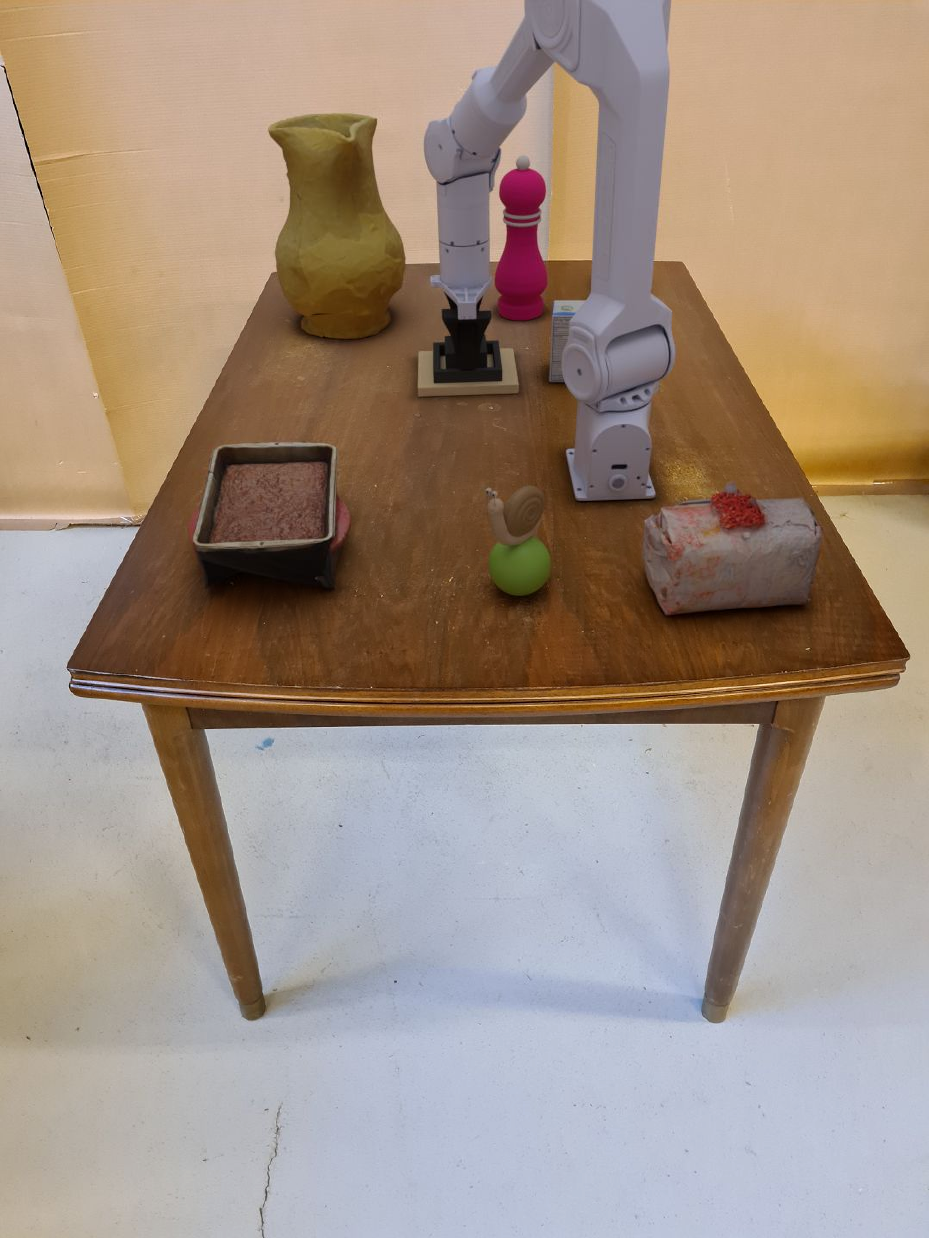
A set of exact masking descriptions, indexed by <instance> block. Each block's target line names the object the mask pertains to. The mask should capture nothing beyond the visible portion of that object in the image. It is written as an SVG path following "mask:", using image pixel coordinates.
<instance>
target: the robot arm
mask: <svg viewBox="0 0 929 1238" xmlns="http://www.w3.org/2000/svg"><path fill="white" fill-rule="evenodd" d="M523 7H524V9H523V11H524V16H523V18H522V20H521V21H520V23H519V25H518V27H517V29H516V31H515V32H514V35H513V36H512V38H511V40H510V41H509V43H508V45H507V47H506V49H505V51H504V53H503V54H502V56H501V58H500V60H499V62H498V64H497V65H491V66H490V65H489V66H486V67H483V68H476V69H475V70H474V72H473V74H472V76H471V80H472V81H471V82H470V84H469V86H468V87H467V88H466V90H465V91H464V93H463V95H462V96H461V97H460V100H459V101H457V102H456V104H455V105H454V107H453V110H452V111H451V113H450V115H449V116H448V117H444V118H443V119H441V118H438V119H433V120H430V121H429V122H428V125H427V128H426V130H425V133H424V135H423V136H424V137H423V154H424V159H425V163H426V167H427V170H428V171H429V174H430V175H431V177H432V178H433V179H434V180H435V185H436V187H435V189H436V209H437V210H436V211H437V232H438V233H437V236H438V255H439V256H438V257H439V258H438V259H439V274H435V275H430V277H429V284H430V287H431V288H439V289H441V291H443V293H444V295H445V298H446V300H447V302H448V305H449V308H442V309H441V319H442V323H443V325H444V326H445V328H446V329H447V331H448V333H449V336H451V338H452V342H453V346H454V350H455V355H456V360H457V364H458V367H459V369H475V368H476V367H477V364H478V360H479V355H480V349H481V343H482V339H483V336H484V335H485V333H486V331H487V329H488V327H489V325H490V323H491V321H492V317H493V314H492V313H493V312H492V310H491V309H490V310H480V308H481V305H482V301H483V298H484V296H485V294H486V292H487V291H488V290H489V289H490V288H491V287H492V283H493V279H492V274H491V256H490V255H491V253H490V252H491V249H490V248H491V241H490V240H491V237H490V235H491V233H490V232H491V226H490V223H491V221H490V218H491V217H490V211H491V210H490V194H491V193H492V192H493V191H494V188H495V178H496V177H495V176H496V172H497V170H498V169H499V166H500V163H501V159H502V148H501V146H502V145H503V143H504V142H505V141H506V139H508V137H509V136H510V134H511V133H512V132H513V131H514V129H515V128H516V127H517V126H518V124H519V123H520V122H521V121H522V119H523V118H524V116H525V114H526V111H527V107H528V99H527V94H528V92H529V91H530V90H531V89H532V88H533V87H534V86H535V85H536V83H538V81H539V80H540V79H541V78H542V77H543V76H544V75H545V73H547V72H548V70H549V69H550V68H551V67H552V66H553V65H554V64H557V65H558V66H559V67H560V68H561V69H562V70H564V71H565V72H566V73H567V74H568V75H569V76H570V77H572V78H573V80H574V81H576V82H577V83H578V84H581V85H583V86H586V87H588V88H589V90H590V91H591V93H592V94H593V95H594V97H595V98H596V99H597V101H598V119H597V122H598V123H597V141H596V142H597V143H596V161H595V162H596V163H595V184H594V185H595V186H594V187H595V188H594V212H593V229H592V230H593V233H592V257H591V279H590V293H589V295H588V297H587V298H586V299H585V300H586V301H585V302H584V303H583V305H582V306H581V307H580V308H579V310H578V311H577V312H576V313H575V315H574V316H573V317H572V319H571V320H570V322H569V336H568V341H567V343H566V345H565V348H564V351H563V354H562V363H561V367H562V374H563V378H564V381H565V382H564V383H565V386H566V388H567V390H568V391H569V392H570V394H571V395H572V396H573V397H574V398H575V399H576V401H577V404H576V405H577V406H576V420H575V421H576V422H575V435H574V436H575V437H574V448H567V449H566V450H565V457H566V461H567V466H568V471H569V475H570V479H571V484H572V489H573V494H574V499H575V500H576V501H579V502H588V501H613V500H614V501H619V500H642V499H643V500H645V499H648V500H649V499H654V498H655V497H656V490H655V487H654V484H653V482H652V478H651V476H650V473H649V471H650V463H651V457H652V450H653V449H652V448H653V443H652V438H651V434H650V430H649V427H650V426H649V425H650V419H651V409H652V401H653V396H654V395H655V394H656V393H658V392H659V389H660V381H661V380H664V379H665V378H667V377H668V376H669V375H670V374H671V372H672V370H673V368H674V365H675V361H676V345H675V342H674V336H673V330H672V329H673V328H672V322H673V321H672V320H673V311H672V309H670V308H669V307H668V305H666V304H665V302H663V301H662V299H660V298H658V297H656V296H655V295H654V294H652V288H653V287H652V286H653V277H654V266H655V265H654V264H655V253H656V240H657V232H658V231H657V229H658V217H659V216H658V215H659V208H660V206H659V205H660V195H661V185H662V183H661V182H662V173H663V172H662V171H663V161H664V160H663V159H664V150H665V149H664V147H665V137H666V125H667V114H668V104H669V103H668V102H669V92H670V91H669V90H670V78H671V77H670V73H671V72H670V71H671V69H670V59H669V52H668V44H669V33H670V20H671V8H672V0H523Z"/></svg>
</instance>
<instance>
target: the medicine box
mask: <svg viewBox="0 0 929 1238" xmlns="http://www.w3.org/2000/svg"><path fill="white" fill-rule="evenodd" d="M586 300H587V299H585V300H579V299H577V300H575V299H573V300H571V299H570V300H569V299H568V300H567V299H566V300H565V299H564V300H563V299H562V300H561V299H560V300H559V299H556V300H553V301H552V307H551V308H552V309H551V321H550V323H551V324H550V345H549V347H550V349H549V374H548V375H549V376H548V381H549V383H565V381H564V378H563V374H562V367H561V363H562V354H563V351H564V348H565V345H566V343H567V341H568V336H569V322H570V320H571V319H572V317H573V316H574V315H575V313H576V312H577V311H578V310H579V308H580V307H581V306H582V305H583V303H584V302H585V301H586Z"/></svg>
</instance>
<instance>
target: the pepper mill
mask: <svg viewBox="0 0 929 1238" xmlns="http://www.w3.org/2000/svg"><path fill="white" fill-rule="evenodd" d="M515 166H516V168H514V169H511V170H509V171H508V172H506V174H504V175H503V177H502V179H501V180H500V183H499V189H498V196H499V200H500V202H501V203H502V205H503V206H504V209H503V210H502V215H503V217H502V222H503V223H504V224H505V227H506V228H505V229H506V239H505V243H504V244H505V245H504V247H503V251H502V253H501V256H500V258H499V260H498V264H497V266H496V269H495V273H494V287H495V290H496V291H497V292H498V293H499V294H500V296H499V297H498V298H497V312H498V314H499V315H500V317H502V318H504V319H506V320H507V319H508V320H511V321H530V320H534V319H536V318H539V317H540V316H542V314H543V313H544V298H543V297H542V294H543V293H544V292H545V291H546V289H547V287H548V280H549V279H548V271H547V268H546V264H545V262H544V259H543V256H542V255H541V251H540V247H539V242H538V227H539V224H540V223H541V222H542V209H541V208H540V206H541V205H542V204H543V202H544V201H545V199H546V195H547V186H546V181H545V178H544V177H543V175H541V174H540V172H538V171H537V170H535V169H533V168H530V166H531V160H530V158H529V156H527V155H524V154H523V155H519V156H518V157H517V159H516V160H515Z"/></svg>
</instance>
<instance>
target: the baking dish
mask: <svg viewBox="0 0 929 1238" xmlns="http://www.w3.org/2000/svg"><path fill="white" fill-rule="evenodd" d="M338 459H339V454H338V449H337V447H336V446H335V445H332V444H329V443H324V442H314V441H311V442H310V441H309V442H308V441H289V442H288V441H285V442H284V441H283V442H281V441H272V442H271V441H267V442H266V441H265V442H256V441H255V442H247V443H244V442H243V443H234V444H233V443H231V444H224V445H219V446H216V447H215V448H213V449H212V452H211V454H210V458H209V461H208V463H209V467H208V470H207V475H206V476H207V477H206V480H205V485H204V490H203V493H202V496H201V501H200V503H199V506H198V507H197V508H196V510H195V511H194V512H193V514H192V515H191V517H190V520H189V524H188V536H189V540H190V543H191V546H192V548H193V550H194V553H195V555H196V557H197V560H198V562H199V564H200V566H201V570H202V573H203V578H204V582H205V585H204V589H207V588H209V587H212V586H213V585H215V584H218V583H220V582H221V581H224V580H227V579H229V578H231V577H233V576H235V575H237V574H239V573H248V574H254V575H257V576H263V577H266V578H272V579H277V580H282V581H287V582H292V583H298V584H301V585H302V584H303V585H309V586H314V587H318V588H319V587H320V588H326V589H332V590H335V589H336V588H335V577H336V571H337V567H338V562H339V560H340V556H341V553H342V549H343V547H344V544H345V540H346V537H347V536H348V534H349V531H350V528H351V526H352V519H351V515H350V512H349V510H348V509H349V508H347V505H346V504H345V503H344V501H343V500H342V499H341V498H340V496H339V495H338V487H337V486H338V484H337V483H338V482H337V481H338V479H337V478H338Z"/></svg>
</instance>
